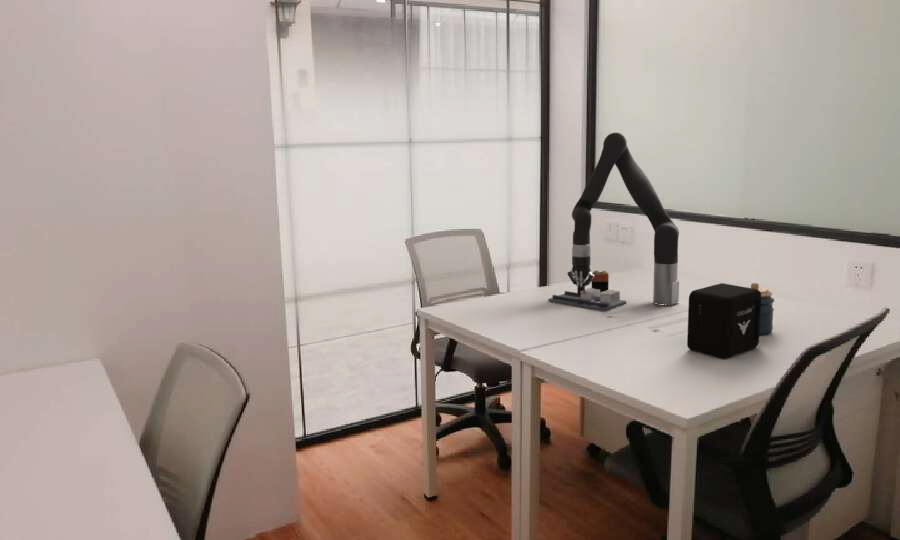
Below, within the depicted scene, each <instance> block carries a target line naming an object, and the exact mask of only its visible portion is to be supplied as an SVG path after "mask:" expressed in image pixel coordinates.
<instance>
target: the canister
mask: <svg viewBox="0 0 900 540" xmlns="http://www.w3.org/2000/svg"><path fill="white" fill-rule="evenodd" d="M746 287H747V288H752V289H757V290H759V291H760V292H761V314H760V333H759V337H761V336H763V337H764V336H768V335H770V334H772V332H773V327H774V325H773V321H774V319H773V318H774V310H775V309H774V307H773V303H774V302H775V298H773V297H772V295H773V292H771V290H769V289H768V288H767V287H761V286H760V285H759V283H758V282H752V283H751V284H750V286H746Z"/></svg>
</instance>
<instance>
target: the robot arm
mask: <svg viewBox="0 0 900 540" xmlns="http://www.w3.org/2000/svg"><path fill="white" fill-rule="evenodd" d="M627 144H628V142H627V139H626V136H624V135H623V134H622V133H620V132H612V133H609V134H608V135H607V136H606V137H604V140H603V143H602V145H603V146H602V151H601V152H600V153H601V154H600V156H599V159H598V162H597V163H596V166H595V168H594V169H593V172H592V174H591V175H590V177H589V178H588V180H587V182H586V184H585V186H584V188H583V192H582V193H581V196H580V198H579V199H578V201H577V202H576V204H575V206H574V207H573V209H572V212H571V217H572V220H573V221H574V229H573V233H572V250H571V264H572V267H571V270H570V271H568V272H567V273H566V274H567V276H568V277H569V279H570V280H571V282H572V284H573V285H576V287H577V288H576V289H577V291H576V293H578V295H581V291H583V290H586V287H587V286H590V284H592V280H593V279H594V277H595V274H592V270H591V233H590V232H591V227H592V212H591V211H592V209H593V207H594V206H595V205H596V204H597V202H598V201H599V200H600V197H601V195H602V193H603V192H604V191H603V190H604V189H605V187H606V183H607V182H608V178H609V177H610V174H611V172H612V170H613V168H614V166H615V167H616V168H617V170H618V172H619V175H620V177H621V179H622V181H623V183H624V185H625V188H626V189H627V191H628V193H629V195H630V196H631V199H632V200H633V202H634V203H635V204H636V206H637V207H638V208H639V209H640V210H641V212H643V214H644V215H645V216H646V217H647V219H648V221H649V223H650V225H651V226H652V229H653V231H654V238H653V297H652V299H653V300H652V301H653V302H654V303H657V304H664V305H665V304H666V305H673V304H675V303H677V302H679V301H680V299H679V298H680V297H679V296H680V281H679V280H678V267H679V265H678V264H679V255H678V253H679V237H680V236H679V235H680V232H679V231H680V230H679V228H678V227H677V225H676V223H674V221H673V220H672V219H671V217H670V216H669V215H668V213H667V211H666V210H665V208H664V207H663V204H662V202H661V200H660V197H659V196H658V194H657V192H656V190H655V188H654V186H653V185H652V183H651V181H650V179H649V177H648V176H647V175H646V173H645V172H644V171H643V169H642V168H641V167H640V166H639V165H638V163H637V162H636V161H635V159H634V156H632V153H631V152H630V148H629V147H628V145H627ZM653 302H652V303H653ZM654 303H653V304H654ZM675 305H676V304H675ZM673 306H674V305H673Z"/></svg>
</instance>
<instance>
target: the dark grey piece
mask: <svg viewBox="0 0 900 540" xmlns="http://www.w3.org/2000/svg"><path fill="white" fill-rule="evenodd" d="M620 292H621V291H620V290H615V289H608V290H606V291H604V292H601V293H600V299H599V300H596V301H587V300H581V295H578V293H577V292H574V291H567V290H565V291H564V293H563V294H559V295H556V294H552V297H550V298H548V299H547V300H548V301H550V302H549V303H553V302H555V303H554V304H558V303H559V305H565V306H570V307H576V308H583V309H587V310H592V309H593V311H598V310H599V312H603V311H605V312H604V313H606V311H607V312H609V311H612V310H614V309H617V308H619V307H618V306H620V307H622V306H625V305H627V301H626V300H622V299H620V297H621V293H620ZM624 304H625V305H624ZM621 305H622V306H621ZM616 307H617V308H616ZM611 309H612V310H611Z"/></svg>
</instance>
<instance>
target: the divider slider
mask: <svg viewBox="0 0 900 540" xmlns="http://www.w3.org/2000/svg"><path fill="white" fill-rule="evenodd" d="M599 299H600V290H599V289H593V288H592V287H591V288H590V287H589V288H585V290H583V291H581V300H587V301H596V300H599Z"/></svg>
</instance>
